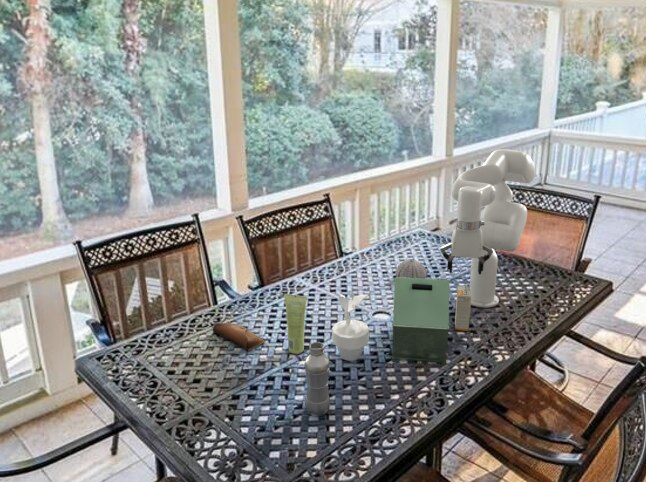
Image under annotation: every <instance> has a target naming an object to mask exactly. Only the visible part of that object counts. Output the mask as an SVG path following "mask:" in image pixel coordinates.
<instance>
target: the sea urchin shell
mask: <svg viewBox="0 0 646 482" xmlns="http://www.w3.org/2000/svg"><path fill="white" fill-rule="evenodd" d="M395 277H401V278H422V279H427V277H428V270H427V269H426V267H425V266H424V265H423V264H422V263H420V262H419V261H418V260H415V259H405V260H403V261H402V262H400V263H399V264H398V266H397V268H396V269H395Z"/></svg>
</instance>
